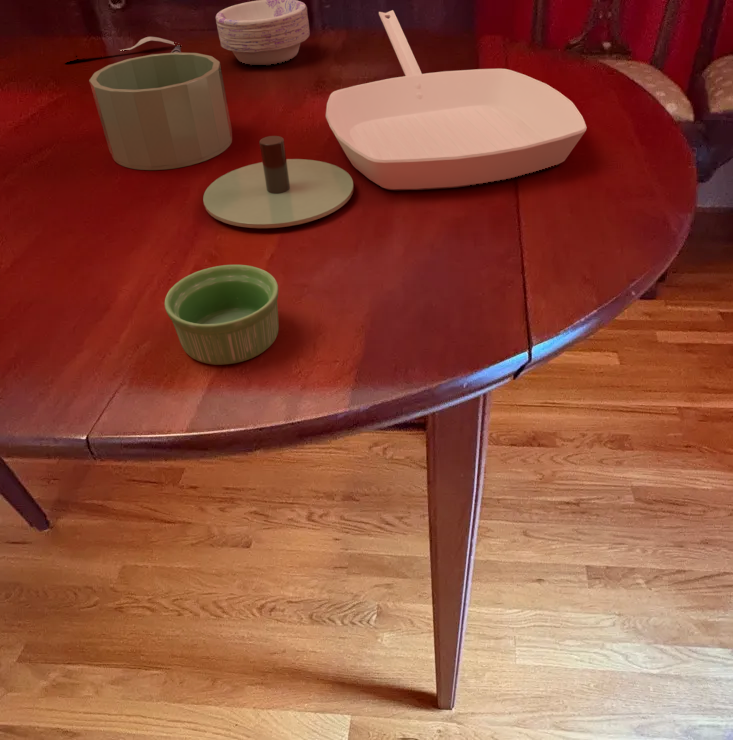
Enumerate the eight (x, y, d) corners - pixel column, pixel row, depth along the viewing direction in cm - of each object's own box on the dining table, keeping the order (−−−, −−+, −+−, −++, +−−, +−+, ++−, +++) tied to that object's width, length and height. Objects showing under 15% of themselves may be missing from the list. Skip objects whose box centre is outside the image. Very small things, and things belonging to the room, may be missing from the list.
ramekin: (299, 312, 62) (293, 268, 60) (261, 377, 56) (253, 331, 53) (204, 302, 64) (194, 259, 62) (157, 364, 58) (143, 319, 55)
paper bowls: (205, 65, 123) (195, 14, 118) (266, 42, 133) (259, -6, 128) (269, 77, 116) (262, 23, 111) (330, 52, 125) (325, 2, 120)
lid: (198, 240, 74) (184, 179, 70) (210, 174, 87) (199, 120, 83) (360, 225, 74) (356, 163, 70) (348, 161, 87) (344, 106, 83)
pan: (358, 213, 76) (352, 124, 70) (296, 88, 111) (288, 21, 105) (613, 173, 80) (627, 86, 74) (476, 64, 115) (478, -1, 109)
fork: (70, 74, 132) (63, 58, 130) (180, 44, 135) (175, 28, 133) (70, 78, 130) (63, 62, 128) (182, 47, 133) (177, 32, 131)
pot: (101, 175, 88) (77, 96, 82) (123, 130, 101) (103, 58, 95) (229, 163, 89) (214, 84, 83) (235, 119, 101) (222, 48, 95)
